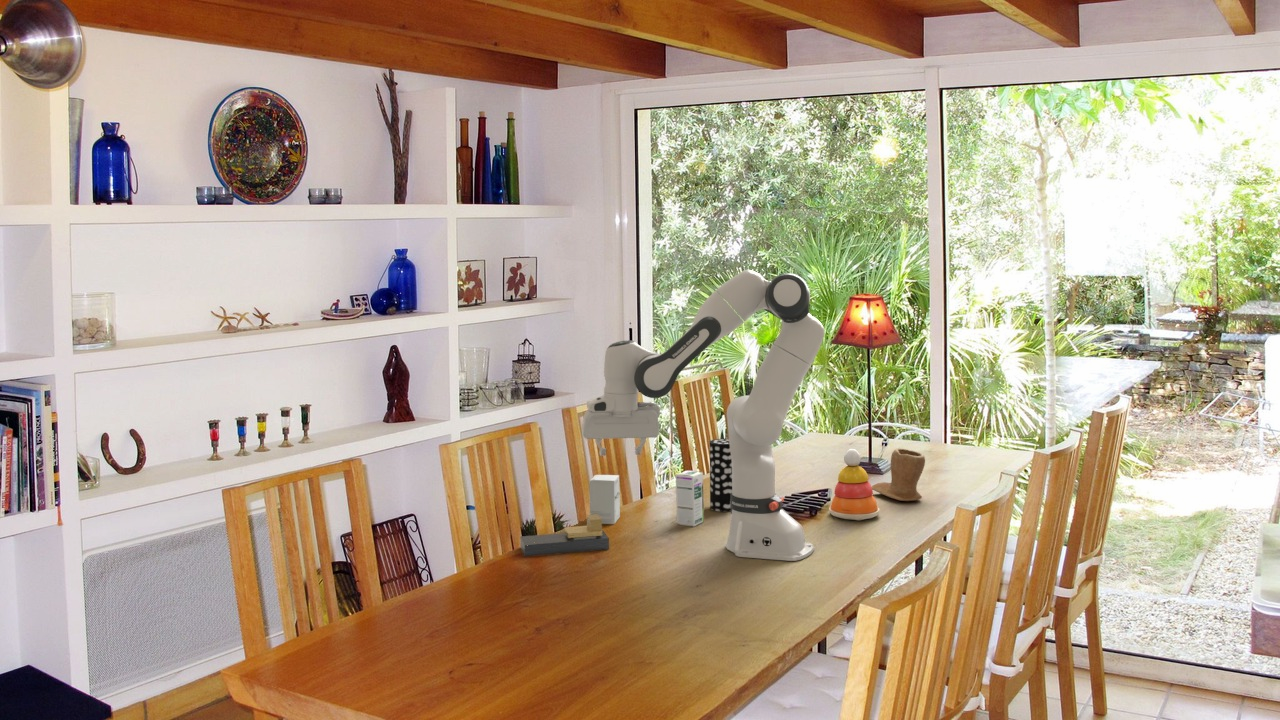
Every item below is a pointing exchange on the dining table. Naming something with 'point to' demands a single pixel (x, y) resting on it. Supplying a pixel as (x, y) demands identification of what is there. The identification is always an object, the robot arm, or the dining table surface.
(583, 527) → the lever cap
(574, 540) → the body
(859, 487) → the stacking toy
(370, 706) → the dining table surface
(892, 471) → the brown top hat
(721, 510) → the spotted tube
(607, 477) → the supplement box
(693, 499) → the syrup box
